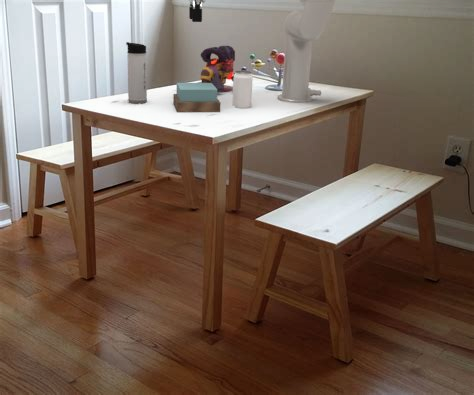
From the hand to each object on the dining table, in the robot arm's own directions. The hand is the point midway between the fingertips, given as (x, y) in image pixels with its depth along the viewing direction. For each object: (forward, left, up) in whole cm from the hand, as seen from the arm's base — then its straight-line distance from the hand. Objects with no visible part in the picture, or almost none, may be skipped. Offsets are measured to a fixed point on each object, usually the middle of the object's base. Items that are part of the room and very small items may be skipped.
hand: (195, 20), depth 211 cm
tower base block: (+1, +10, -28) cm, 30 cm away
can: (-15, +8, -28) cm, 33 cm away
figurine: (-12, -21, -28) cm, 37 cm away
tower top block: (+1, +10, -24) cm, 26 cm away
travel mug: (+20, 0, -28) cm, 34 cm away
